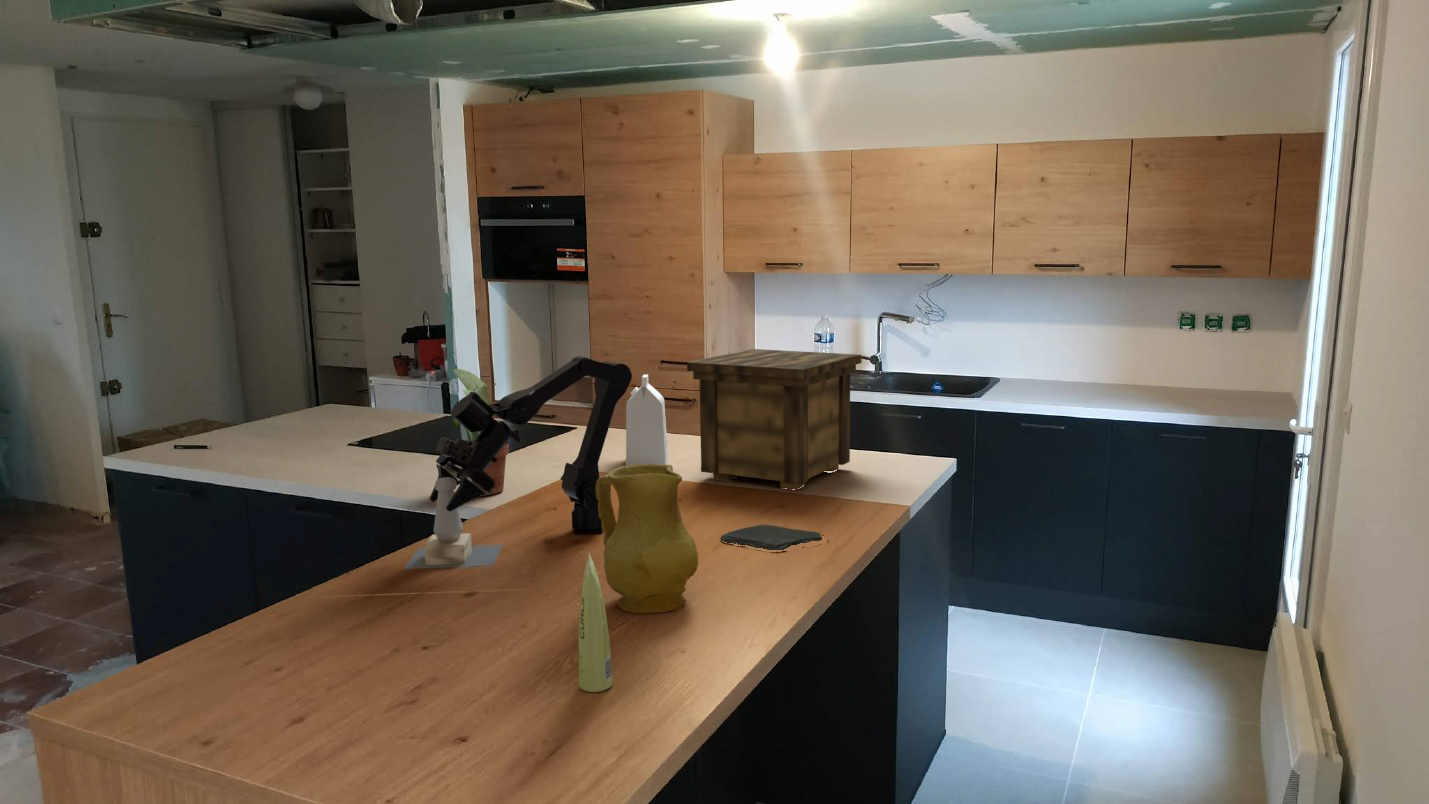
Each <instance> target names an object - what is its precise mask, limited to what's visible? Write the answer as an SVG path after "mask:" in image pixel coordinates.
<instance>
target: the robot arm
mask: <svg viewBox="0 0 1429 804" xmlns="http://www.w3.org/2000/svg"><path fill="white" fill-rule="evenodd" d="M586 376H587V377H589V378H592V379H594V383H593V384H594V392H595V393H594V394H595V399H594V402H593V406H592V409H591V412H590V416H589V419H588V422H587V425H586V428H585V431H584V436H583V438H582V441H581V445H580V449H579V451H578V455H577V457H576V459H575V460H574V461H573V462H572V463H569V462H566V463H565V465H564V470H563V474H562V475H561V477H560V481H561V489H562V491H563V492H564V494H565V495H566V496H568V498H569V499H568V500H569V501H570V502H571V503H574V504H573V509H572V510H571V528H572V530H573V534H574V535H578V534H579V535H581V534H583V535H584V534H602V533H603V534H604V532H603V530H602V526H601V523H602V519H600V518H599V512H598V503H599V502H598V500H597V499H596V482H597V480H598V479H599V478H600V477H601V476H600V469H599V461H600V458H601V455H602V451H603V448H604V444H605V441H606V438H607V435H608V431H609V428H610V426H611V425H610V424H611V422H612V418H613V415H614V413H615V408H616V405H617V403H618V402H619V401H620V400H621V399H622V397H623V396H624V395H625V394H626V393H627V390H628V389H629V386H630V384H631V382H632V377H633V373H632V371H631V369H630V367H629V366H628V365H627V364H625V363H621V362H620V363H619V362H616V361H609V360H607V361H603V362H601V361H598V360H597V361H596V360H594V359H591V358H590V357H585V356H581V355H577V356H575V357H573V358H572V359H571V360H570V361H569V362H567V363H566V364H564V365H563V366H561V367H559V368H558V369H557V370H555V371H553V372H552V373H551V374H548V375H547V376H546V377H544V378H543V379H541V380H540V381H538V382H537V383H535V384H533V385H532V386H530V387H527V388H525V389H520V390H516V391H514V392H512V393H510V394H507V395H505V396H504V397H501V399H500V400H499V401H498V402H494V403H492V404H490V405H488V404H487V403H486V402H484V401H483V400H482V399H481V397H480V396H479V395H478V394H477V393H475V392H470V394H469V395H468V396H466V395H465V396H464V397H462V398H461V399H460V400H459V401H456V402H455V404H454V405H453V407H452V408H451V411H450V416H451V417H452V419H453V418H454V419H456V420H457V421H458V422H459V423H460V424H459V425H461V426H462V427H463V426H464V427H465V428H466V429H467V430H468V431H469V433H470V434H472V433H473V432H476V431H477V432H479V434H478V435H477V437H476V438H475V439H474V440H473V441H471V440H468V439H467V440H468V441H466V439H465V440H464V439H462V438H459V437H458V438H455V440H451V439H450V438H449V439H448V438H446V437H444V436H443V437H442V436H440V439H439V441H438V443H437V447H436V449H435V452H437V453H440V455H439V456H438V458H437V459H436V460H435V463H436V465H435V467H436V468H437V473H438V476H437V479H436V481H437V480H438V479H440V478H445V477H450V478H454V479H455V480H456V483H457V488H456V489H455V491H454V495H453V497H452V498H451V500H450V502H449V503H448V505H447V507H446V509H447V510H448V511H452V510H454V509H456V508H458V509H459V507H462V506H463V505H465V504H467V503H469V502H471V501H473V500H475V499H477V498H480V497H482V496H486V495H485V493H484V492H483V491H485V492H487V493H489V494H490V493H491V491H492V490H493V489H494V487H495V480H494V479H492V478H491V477H490V476H489V475H488V474H486V473H485V472H484V471H485V469H486V468H487V467H488V466H489V464H490V463H491V462H493V463H495V462H496V461H497V460H498V459H497V458H495V457H496V455H497V454H498V453H499V452H500V450H501V449H502V448H503V446H504V445H505V444H506V443H507V441H508V442H509V440H511V441H512V442H513V441H514V442H515V443H520V442H521V438H520V433H519V432H520V429H518V428H515V427H514V428H513V427H510V426H509V425H508V424H507V423H510V424H513V425H518V426H524V425H526V424H528V423H529V422H530V421H531V420H532V419H533V418H534V417H535V416H536V415H537V414H538V413H539V412H540V410H541V409H542V407H543V406H544V405H545V404H546V403H547V402H549V401H550V400H552V399H553V398H555V397H556V396H557V395H559V394H561V393H562V392H563V391H565V390H566V389H568V388H569V387H571V386H572V385H574V384H575V383H577V382H578V381H580V380H581V379H583V378H584V377H586ZM494 417H496V418H498V419H501V420H503V421H501V420H500V421H497V419H496V418H494ZM464 427H463V428H464ZM465 428H464V429H465ZM466 429H465V430H466ZM465 477H467V478H465ZM437 499H438V491H437V490H436V489H435V485H434V487H433V489H432V491H431V493H430V497H429V501H431V503H435V502H437Z"/></svg>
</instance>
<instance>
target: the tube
mask: <svg viewBox="0 0 1429 804" xmlns="http://www.w3.org/2000/svg"><path fill="white" fill-rule="evenodd" d="M600 583H601V582H600V579H599V576H598V572H597V568H596V566H595V563H594V561H593V558H592V557H591V553H590V552H588V558H587V561H586V565H585V569H584V574H583V580H582V589H581V591H582V592H581V597H580V598H581V600H580V610H579V618H578V619H579V621H578V622H579V624H578V625H579V626H578V684H579V685H578V686H579V688H580V689H581V690H583V691H585V692H589V693H599V692H604V691H606V690H608V689H610V688H611V687H612V686H613V672H612V670H613V669H612V657H611V656H612V655H611V645H610V635H609V627H608V626H609V625H608V620H607V614H606V607H605V602H604V597H603V594H602V589H601V584H600Z"/></svg>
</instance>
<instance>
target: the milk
mask: <svg viewBox="0 0 1429 804" xmlns="http://www.w3.org/2000/svg"><path fill="white" fill-rule="evenodd" d="M665 405H666V404H665V398H664V396H663V395H662V394H661V392H659V391H658V390H657V389H656V388H655V387H653V386H652V385H651V384H650V383H649V374H643V375H642V376H641V385H640V386H639V387H638V386H636V387H635V388H633V390H632V391H631V392H630V397H629V399H627V401H626V407H625V410H626V411H625V416H626V417H625V420H626V421H625V424H626V425H625V426H626V427H625V432H626V435H625V436H626V437H625V445H626V446H625V466H633V465H642V464H661V465H668V460H669V451H668V437H667V435H668V434H667V420H666V417H667V416H666V409H665V408H666V406H665Z"/></svg>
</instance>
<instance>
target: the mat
mask: <svg viewBox="0 0 1429 804" xmlns="http://www.w3.org/2000/svg"><path fill="white" fill-rule="evenodd" d="M503 546H504V545H503V544H491V545H489V544H488V545H487V544H485V545H472V552H471V554H470V556H469V557H468V559H467V561H466V563H465V564H436V565H425V552H424V547H418V548H417V550H416V551H415V552H414V554H413V555H412V556H411V558H410V559H409V561H407V563H406V564H405V566H404V567H403V570H413V569H438V568H439V569H441V568H444V569H445V568H468V567H469V568H470V567H474V568H475V567H493V566H494V565H495V563H496V561H497V559H498V556H499V554H500V552H501V550H502V548H503Z"/></svg>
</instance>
